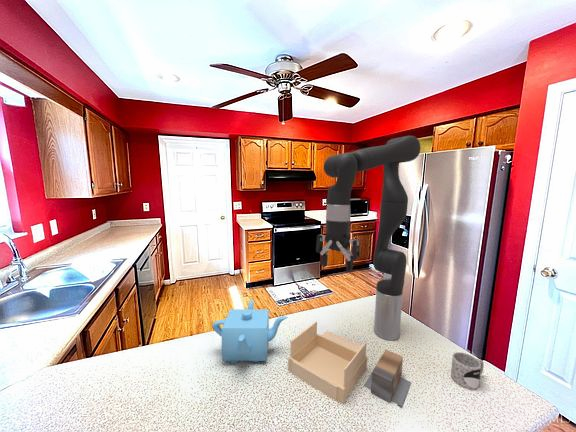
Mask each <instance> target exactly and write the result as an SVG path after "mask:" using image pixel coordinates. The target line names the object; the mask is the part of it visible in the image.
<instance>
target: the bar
mask: <svg viewBox="0 0 576 432" xmlns="http://www.w3.org/2000/svg"><path fill="white" fill-rule="evenodd" d="M403 362H404V356H402V355H400V354H398V353H396V352H393V351H390V350H388V349H384V351H383V352H382V354H381V356H380V358H379V360H378V362H377V363H376V365H375V366H374V367H373V370H372V371H371V373H372V380H371V390H370V393H371V394H372V395H375V396H377V397H379V398H381V399H382V400H384V401H386V402H387V403H391V402H392V401H391V399H392V397H393V394H394V392H395V390H396V387H397V385H398V383H399V380H400V378H402V375H403Z"/></svg>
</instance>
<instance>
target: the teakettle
mask: <svg viewBox="0 0 576 432" xmlns="http://www.w3.org/2000/svg"><path fill="white" fill-rule="evenodd" d="M287 319H288V316H285V315H283V316H279V317H277V318H276V319H275V321H274V322H273V326H271V328H270V309H260V308H259V309H255V308H254V300H253V299H250V300H249V302H248V307H247V308H246V309H244V308H243V309H240V308H239V309H231V308H230V309H229V311H228V313H227V315H226V317H225V319H219V320H215V321H214V322H213V323H212V329H213V331H214V332H215V333H217V335H218V336H220V337H221V362H229V364H230V365H236V364H238V363H239V362H253V363H259V362H267V360H268V350H269V349H268V347H269V342H271V341H273V340H274V338H276V336H277V333H278V329H279V327H280V324H281V323H282V322H283V321H285V320H287ZM220 325H222V327H221V326H220Z"/></svg>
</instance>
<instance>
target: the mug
mask: <svg viewBox="0 0 576 432" xmlns="http://www.w3.org/2000/svg"><path fill="white" fill-rule="evenodd" d="M484 363H485V362H484V361H483V360H482V359H481V358H476V357H474V356H472V355H471V354H469V353H465V352H462V351H461V352H460V351H459V352H458V351H457V352H456V351H455V352H453V354H452V358H451V367H450V368H451V369H450V378H451V380H452V381H453V382H454V383H455V384H456V385H458V386H459V387H461V388H463V389H466V390H470V391H476V390H478V389H479V386H480V378H481V375H483V372H484Z"/></svg>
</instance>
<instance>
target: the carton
mask: <svg viewBox="0 0 576 432" xmlns="http://www.w3.org/2000/svg"><path fill="white" fill-rule="evenodd" d="M317 332H318V321H314V323H312V324H311V325H309V326H308V327H307V328H306V329H305V330H303V331H302V332H301V333H299V334H298V335H297V336H295V337H294V338H292V339H291V340H290V347H289V348H290V355H289V357H288V359H287V361H288V364H287V365H288V366H287V370H288V371H289V372H291V373H292V375H294V376H295V377H297V378H299V379H300V380H302V381H304V382H305V383H307V384H309V386H311V387H313V388H315V389H316V390H318V391H319V392H321V393H323V394H324V395H326V396H327V397H329V398H330V399H332V400H334V401H335V402H336V401H338V402H339V403H340V404H342V405H344V403H345V402H346V401H347V399H348V397H349V395H351V393H352V391H353V390H354V388H355V387H356V385H357V384H358V382H359V380H360V379H361V378H362V376H363V374H364V373H365V371H367V365H368V356H367V344H368V343H367V341H365V342H364V343H363V344H359V343H357V342H356V341H352V340H351V339H347V338H345V337H344V336H341V335H339V334H336V333H334V332H332V331H329V330H326V331H325V332H324V333H322V334H318V333H317Z"/></svg>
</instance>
